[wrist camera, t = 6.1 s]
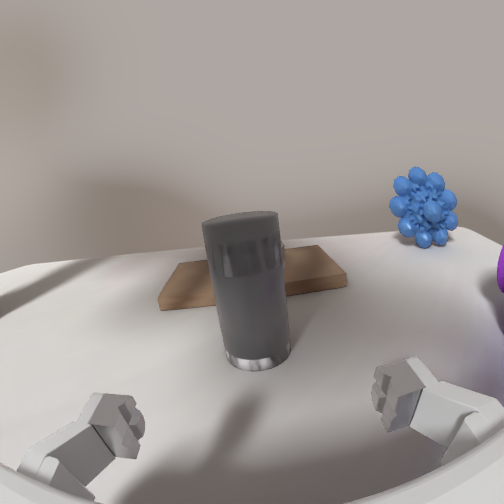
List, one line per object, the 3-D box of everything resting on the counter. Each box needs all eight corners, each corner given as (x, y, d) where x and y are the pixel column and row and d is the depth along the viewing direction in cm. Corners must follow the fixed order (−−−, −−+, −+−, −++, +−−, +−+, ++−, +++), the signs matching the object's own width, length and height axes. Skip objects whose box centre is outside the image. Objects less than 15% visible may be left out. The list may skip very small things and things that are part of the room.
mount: (160, 310, 29) (151, 276, 28) (181, 273, 41) (175, 246, 40) (346, 286, 29) (345, 250, 28) (318, 254, 41) (316, 227, 40)
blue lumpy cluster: (397, 259, 34) (395, 167, 31) (386, 245, 41) (383, 167, 37) (468, 254, 32) (469, 168, 28) (450, 241, 38) (449, 166, 35)
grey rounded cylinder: (225, 374, 18) (196, 230, 16) (227, 338, 23) (206, 217, 20) (295, 365, 18) (282, 219, 16) (285, 330, 23) (273, 208, 20)
